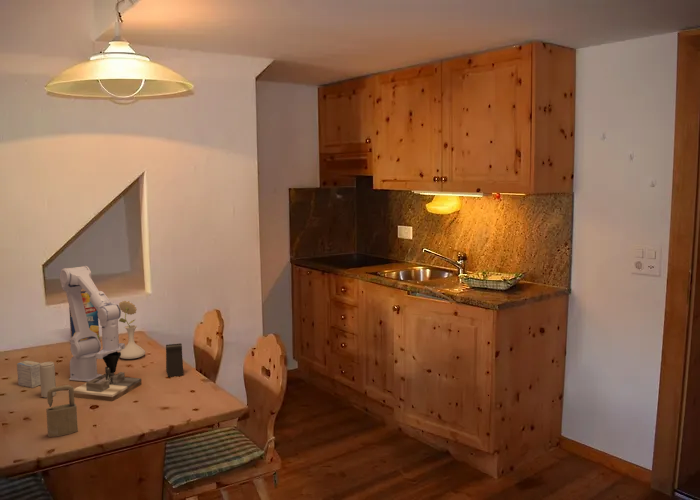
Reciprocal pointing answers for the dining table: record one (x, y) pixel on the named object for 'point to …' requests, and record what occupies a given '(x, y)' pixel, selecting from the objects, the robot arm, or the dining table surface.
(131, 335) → the flower in vase
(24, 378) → the grey upright block
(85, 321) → the robot arm
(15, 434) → the dining table surface
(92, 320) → the juice carton
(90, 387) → the door and jamb
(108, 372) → the bolt
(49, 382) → the beige cylinder
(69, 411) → the padlock
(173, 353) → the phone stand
